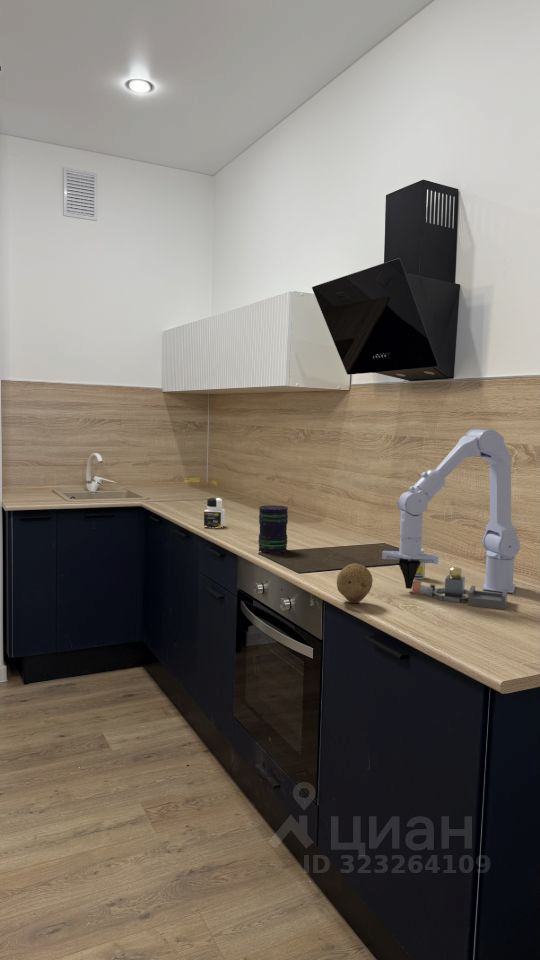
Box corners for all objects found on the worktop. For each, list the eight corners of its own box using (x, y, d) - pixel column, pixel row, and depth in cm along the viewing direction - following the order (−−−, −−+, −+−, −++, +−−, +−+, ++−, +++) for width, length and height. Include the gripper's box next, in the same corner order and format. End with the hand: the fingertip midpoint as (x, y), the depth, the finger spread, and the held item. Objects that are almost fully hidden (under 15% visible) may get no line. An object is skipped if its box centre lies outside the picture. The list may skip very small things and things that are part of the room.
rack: (471, 597, 178) (471, 585, 178) (506, 601, 175) (507, 589, 175) (467, 605, 171) (468, 592, 171) (504, 609, 168) (505, 596, 167)
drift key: (414, 590, 184) (414, 580, 184) (431, 592, 183) (431, 582, 182) (412, 593, 182) (412, 582, 181) (429, 595, 180) (430, 584, 180)
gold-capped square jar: (446, 593, 182) (448, 565, 181) (464, 595, 180) (465, 567, 179) (444, 597, 178) (445, 569, 177) (462, 599, 176) (463, 571, 175)
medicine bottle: (203, 528, 280) (203, 498, 279) (208, 525, 287) (208, 496, 286) (220, 528, 279) (221, 499, 278) (224, 526, 286) (225, 497, 285)
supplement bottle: (413, 575, 203) (414, 546, 202) (427, 577, 200) (428, 549, 199) (404, 577, 200) (405, 548, 199) (418, 580, 196) (419, 551, 195)
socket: (432, 589, 186) (432, 581, 186) (477, 594, 182) (478, 586, 182) (425, 598, 177) (425, 590, 176) (473, 604, 172) (473, 596, 172)
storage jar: (281, 547, 242) (282, 505, 241) (291, 552, 233) (292, 508, 231) (254, 548, 239) (255, 505, 237) (263, 554, 229) (264, 509, 228)
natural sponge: (369, 609, 165) (370, 568, 164) (332, 606, 167) (333, 566, 167) (373, 600, 174) (375, 561, 173) (338, 597, 176) (339, 558, 175)
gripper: (380, 537, 181) (378, 588, 182) (436, 542, 176) (434, 594, 177) (386, 533, 188) (384, 582, 189) (440, 537, 182) (438, 588, 183)
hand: (409, 587), depth 183 cm, fingers closed
